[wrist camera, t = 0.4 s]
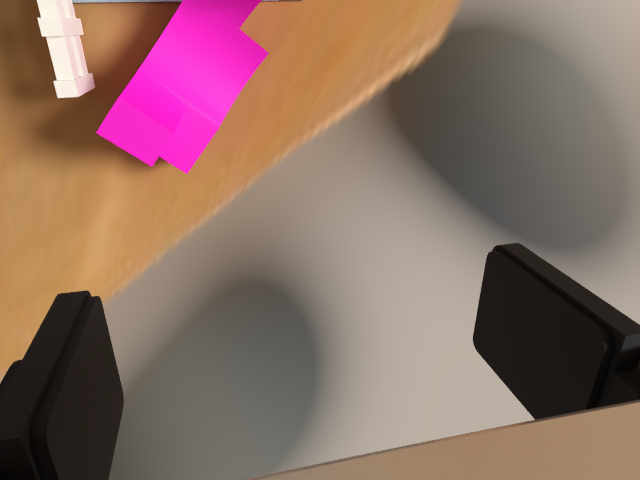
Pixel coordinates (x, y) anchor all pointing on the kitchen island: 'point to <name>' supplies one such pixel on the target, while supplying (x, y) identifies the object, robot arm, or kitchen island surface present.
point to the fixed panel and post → (65, 47)
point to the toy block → (185, 84)
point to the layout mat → (99, 0)
